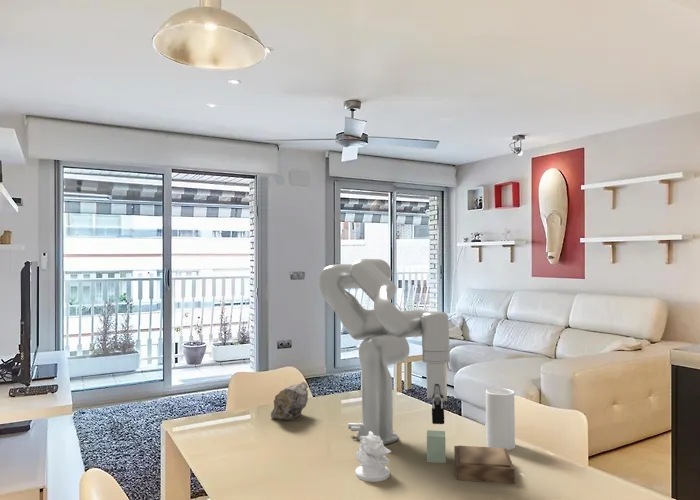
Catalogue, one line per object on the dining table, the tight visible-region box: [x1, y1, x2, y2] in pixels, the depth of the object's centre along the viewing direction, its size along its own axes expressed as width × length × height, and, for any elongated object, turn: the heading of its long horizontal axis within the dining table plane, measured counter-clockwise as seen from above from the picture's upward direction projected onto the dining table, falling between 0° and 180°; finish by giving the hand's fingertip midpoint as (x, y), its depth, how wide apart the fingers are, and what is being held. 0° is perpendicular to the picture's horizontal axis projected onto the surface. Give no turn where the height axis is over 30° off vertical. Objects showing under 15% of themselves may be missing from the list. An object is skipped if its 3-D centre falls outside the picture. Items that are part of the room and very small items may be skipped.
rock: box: [270, 381, 309, 421], centre depth 177 cm, size 16×10×15 cm, turn 157°
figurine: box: [354, 431, 392, 483], centre depth 129 cm, size 12×9×10 cm
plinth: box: [453, 444, 516, 484], centre depth 131 cm, size 14×14×4 cm
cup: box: [485, 387, 516, 451], centre depth 150 cm, size 8×8×16 cm
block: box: [426, 429, 447, 464], centre depth 139 cm, size 5×5×7 cm
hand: (438, 418), depth 139 cm, fingers open, 9 cm apart
